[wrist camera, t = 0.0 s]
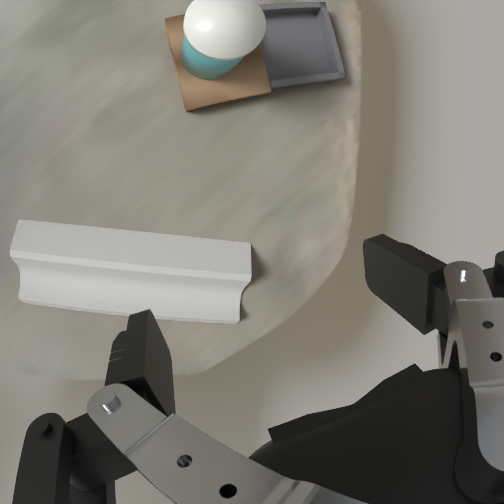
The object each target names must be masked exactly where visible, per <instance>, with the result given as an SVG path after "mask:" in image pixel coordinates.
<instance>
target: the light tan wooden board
mask: <svg viewBox="0 0 504 504" xmlns="http://www.w3.org/2000/svg"><path fill="white" fill-rule="evenodd" d="M184 17H185V14H184V15H179V16H174V17H170V18H166V19H165V27H166V31H167V35H168V40H169V44H170V48H171V52H172V56H173V61H174V65H175V69H176V73H177V77H178V81H179V85H180V89H181V93H182V97H183V101H184V105H185V109H186V112H189V111H192V110H196V109H200V108H204V107H208V106H212V105H216V104H221V103H225V102H229V101H234V100H239V99H243V98H248V97H253V96H258V95H264V94H268V93H270V92H272V91H271V87H270V83H269V79H268V75H267V71H266V67H265V63H264V60H263V56H262V52H261V48H260V44H258V46H257V47H256V48H255V49H254V50H253V51H251V52H250V53H249V54H247V55H245V56H244V57H243V58H242V59H241V60H240V62H239V63H238V64H237V65H236V66H235V67H234V68H233V69H232V71H231V72H229V73H228V74H227V75H225V76H224V77H222V78H219V79H215V80H204V79H200V78H197V77H195V76H193V75H192V74H190V73H189V72H188V71H187V70H186V68H185V67H184V65H183V62H182V47H183V40H184V30H183V24H184Z"/></svg>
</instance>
